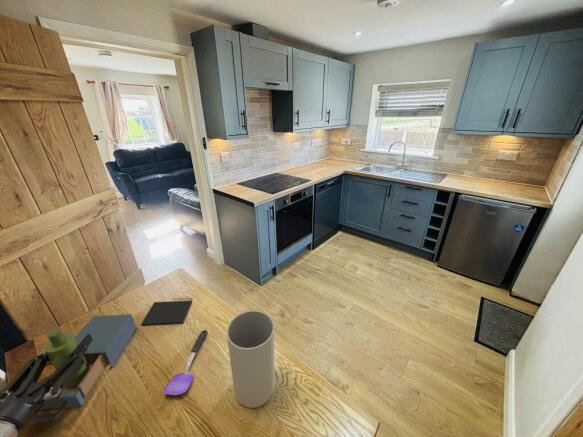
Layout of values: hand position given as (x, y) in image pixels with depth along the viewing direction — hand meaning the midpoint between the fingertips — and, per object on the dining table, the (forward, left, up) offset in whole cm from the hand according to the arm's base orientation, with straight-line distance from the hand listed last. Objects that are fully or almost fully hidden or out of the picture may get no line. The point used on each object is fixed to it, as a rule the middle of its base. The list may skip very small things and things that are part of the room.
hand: (78, 337), depth 73 cm
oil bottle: (0, -5, -11) cm, 13 cm away
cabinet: (0, +7, -13) cm, 15 cm away
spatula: (+32, 0, -14) cm, 35 cm away
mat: (+16, +22, -13) cm, 30 cm away
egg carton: (-13, +6, -14) cm, 20 cm away
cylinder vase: (+54, -10, -14) cm, 57 cm away
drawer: (0, -8, -13) cm, 15 cm away
